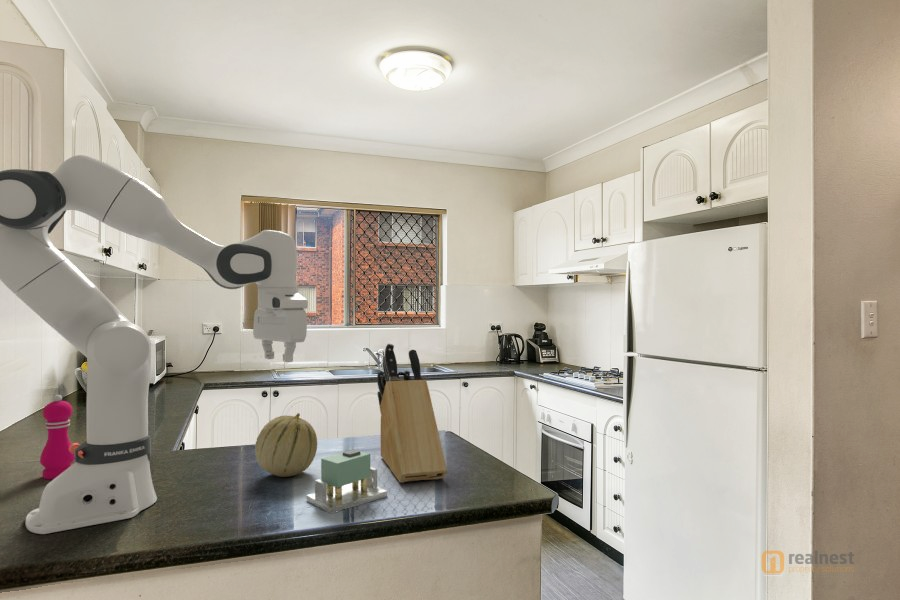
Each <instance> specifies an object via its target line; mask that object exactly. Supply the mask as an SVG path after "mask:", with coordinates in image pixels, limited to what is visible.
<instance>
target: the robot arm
mask: <svg viewBox="0 0 900 600" xmlns="http://www.w3.org/2000/svg"><path fill="white" fill-rule="evenodd" d="M67 211H77V212H80V213H83V214H85V215H87V216H90V217H91V218H94V220H95V219H96V220H97V221H100V222H101V223H103V224H105V225H107V226H108V227H111V228H113V229H115V230H117V231H120V232H122V233H125V234H126V235H129V236H132V237H135V238H138V239H142V240H145V241H148V242H151V243H153V244H157V245H160V246H162V247H164V248H166V249H169V250H171V251H172V252H174V253H176V254H177V255H179V256H181V257H183V258H185V259H187V260H188V261H190V262H192V263H194V264H196V265H197V266H199V267H200V268H201V269H203V270H204V271H205V272H206V273H207V275H208V276H209V277H210V278H211V280H212V281H213V282H214V283H215V284H216V285H218V286H219V287H221V288H223V289H227V290H237V289H241V288H243V287H245V286H247V285H250V284H256V285H257V309H255V311H254V314H253V325H252V326H253V329H252V331H253V332H252V334H253V337H254V339H255V340H261V345H262V350H263V353H264V359H266V360H274V359H275V351H274V349H273V343H274V342H280V343H281V342H282V343H283V344H284V345H283V346H284V348H285V350H284V353H283V354H282V361H283V362H284V363H292V362H293V361H294V353H295V351H296V348H297V347H296V346H297V343H304V342H305V340H306V338H307V335H308V334H307V332H308V331H307V329H308V328H307V326H308V317H307V311H306V310H305V309H308V306H309V302H308V299H307V298H305V297H304V296H302V294H300V293H298V284H297V283H298V282H297V279H296V277H297V272H298V253H297V246H296V241H295V239H294V237H293V236H291V235H290V234H289V233H286V232H283V231H281V230H271V229H264V230H262V231H260V232H259V233H257V234H255V235H253V236H251V237H250V238H247V239H244V240H241V241H238V242H234V243H233V242H232V243H230V244H228V245H221V244H217V243H216V242H213V241H211V240H210V239H208V238H207V237H205V236H203V235H201V234H200V233H198V232H196V231H195V230H193V229H191V228H189V227H188V226H186V224H184V223H182V222H181V221H180V220H179V219H178V217H176V216H175V214H174V213H173V212H172V211H173V210H171V208H170V207H169V205H168V203H167V202H166V200H165V198H163V197H162V196H161V195H160V194H159V193H158V192H156V191H155V190H154V189H153V188H151V187H150V186H148V185H147V184H145V183H144V182H143V181H141V180H139V179H138V178H136V177H134V176H132V175H130V174H129V173H127V172H125V171H123V170H121V169H119V168H117V167H116V166H113V165H111V164H108V163H106V162H104V161H101V160H99V159H97V158H93V157H90V156H88V155H83V154H79V155H73V156H70V157H69V158H67V159H66V160H64V161H63V162H62V163H61V164H60V165H59V166H58V168H56V170H55V171H54V172H53V173H51V172H49V171H44V170H43V171H42V170H31V169H22V168H21V169H20V168H18V169H17V168H16V169H15V168H13V169H10V168H9V169H6V170H1V171H0V281H1V282H2V283H3V285H4V286H6V288H8V289H9V290H10V291H11V292H12V293H13V294H14V295H15V296H16V297H17V298H19V300H21V301H22V302H23V303H24V304H25V305H26V306H28V307H29V308H30V310H32V311H33V312H34V313H35V314H36V315H37V316H38V317H40V318H41V319H42V320H43V321H44V322H45V323H46V324H47V325H49V326H50V328H52V329H53V330H55V332H57V333H58V334H59V335H60V336H61V337H63V338H64V339H65V340H66V341H67V342H68V343H70V344H71V345H72V346H73V347H74V348H75V349H76V350H78V351H79V352H80V353H81V354H82V355H84V357H85V358H86V359H87V365H86V367H87V368H86V369H87V371H86V372H87V374H86V403H85V404H86V406H85V407H86V411H85V412H86V415H85V416H86V418H85V419H86V441H84V442H82V443H81V444H79V443H78V442H73V443H71V445H72V446H69V447H70V448H69V451H70V452H71V453H72V454H74V455H75V460H74V463H72V464H71V466H70V467H69V468H67V469H66V470H65V471H64V472H62V473H61V474H60V475H59V476H57V477H56V478H55V479H51V481H49V482H47V484H46V486H45V488H44V489H43V491H42V493H41V496H40V501H39V506H38V507H37V508H35V509H33V510H31V511H30V512H28V514H27V515H26V516H25V527H26V529H27V530H28V531H29V532H31V533H33V534H39V535H46V534H51V533H57V532H62V531H68V530H73V529H79V528H84V527H89V526H93V525H100V524H105V523H111V522H116V521H121V520H126V519H130V518H131V519H132V518H133V517H134V518H135V516H137V515H138V514H139V513H140V512H141V511H143V510H145V509H147V508H149V507H151V506H152V505H154V503H156V502H157V500H158V497H157V494H156V491H155V488H154V484H153V480H152V474H151V468H150V467H151V465H150V461H151V456H152V441H151V440H152V439H151V435H150V434H149V389H150V381H151V380H150V378H151V377H150V376H151V361H152V360H151V359H152V343H151V338H150V337H149V335H148V333H147V332H146V331H145V329H143V328H142V327H141V326H139V325H137V324H135V323H133V322H131V321H130V319H129V318H127V317H126V315H125V314H124V313H122V311H121V310H120V309H118V308H117V306H116V305H115V304H114V303H113V302H112V301H111V300H110V299H109V298H108V296H106V295H105V294H104V293H103V292H102V291H101V290H100V289H99V288H98V287H97V285H96V284H95V283H94V282H93V281H91V280H90V279H89V278H88V277H87V276H86V275H85V273H83V272H82V271H81V270H80V269H79V268H78V267H77V266H76V265H75V264H74V263H73V262H72V261H71V260H70V259H69V258H68V257H67V256H65V255H64V253H62V252H61V250H60V249H58V248H57V247H56V245H55V244H54V243H53V242H52V241H51V239H50V237H49V234H51V233H52V231H53V230H54V229H55V227H56V226H57V225H58V223H59V222H60V221H61V220H62V219H63V217H64V216H65V214H66V212H67Z"/></svg>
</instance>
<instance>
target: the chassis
mask: <svg viewBox="0 0 900 600" xmlns="http://www.w3.org/2000/svg"><path fill="white" fill-rule="evenodd" d="M370 474H371V477H368V478H365V479H362V480H359V481H356V482H353V483H350V484H347V485H344V486H341V487H338V488H337V487H334V486H332V485H329V484H327V483H326V482H324V481H322V480H321V479H315V480H314V492H312V493H309V494H306V498H305V499H306V500H307V501H306V502H309V503H310V504H312V505H313V504H314V505H313V506H316V507H317V508H319V507H320V508H319V509H320V510H323V511H325V512H326V511H327V513H328V512H329V514H330V513H332V514H334V513H333V512H335V513H337V512H336V511H338V512H341V511H340V510H342V511H344V510H343V509H345V510H347V508H348V509H351V508H353V507H354V508H355V507H357V506H361V505H364V504H367V503H370V502H373V501H377V500H381V499H383V498H386V497H388V490H387V489H384V488H381V487H379V486H378V469H377V468H375V467H374V466H370Z"/></svg>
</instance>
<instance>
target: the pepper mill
mask: <svg viewBox="0 0 900 600" xmlns="http://www.w3.org/2000/svg"><path fill="white" fill-rule="evenodd" d="M72 414H73V406H72V405H71V403H69V402H68V401H66V400H63V396H62V395H61V394H56V395H54V396H53V401H51V402H49V403H47V404H45V406H44V408H43V410H42V416H43V418H44V419H45V420H46V422H45V429H47V440H46V442H45V445H44V447H43V449H42V451H41V454H40V456H39V458H40V459H39V462H40V464H41V465H42V466H43V467H44V469H43V470H42V478H43V479H45V480H53V479H55V478H56V477H57V476H59V475H60V474H61V473H62V472H64V471H65V470H66V469H67V468H69V467H70V466H71V465H72V464H73V462H75V455H74V454H72V453H71V452H70V451H69V448H70V447H69V446H72V445H71V444H72V443H71V441H70V438H69V434H68V433H69V431H68V430H69V426H70V425H71V419H69V418H70V417H71V416H72Z"/></svg>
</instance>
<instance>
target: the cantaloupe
mask: <svg viewBox="0 0 900 600" xmlns="http://www.w3.org/2000/svg"><path fill="white" fill-rule="evenodd" d="M300 415H301V414H300V412H297V414H296V415H280V416H276V417H274V418H273V419H270V421H268V422H267V423H266V424H265V425H264V426H263V427H262V429H261V430H260V432H259V434H258V436H257V437H256V441H255V446H254V447H255V448H254V454H255V458H256V462H257V463H258V465H259V466H260V467H261V468H262V470H264V471H265V472H267V473H269V474H272V475H274V476H276V477H281V478H287V477H293V476H296V475H299V474H301V473H303V472H305V471H306V470H307V469H308V468H309V467H310V466H311V465H312V463H313V461H314V459H315V457H316V454H317V450H318V438H317V437H318V436H317V434H316V430H315V429H314V427H313V426H312V424H311V423H310V422H308V421H307V420H305V419H303V418H301V417H300Z"/></svg>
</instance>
